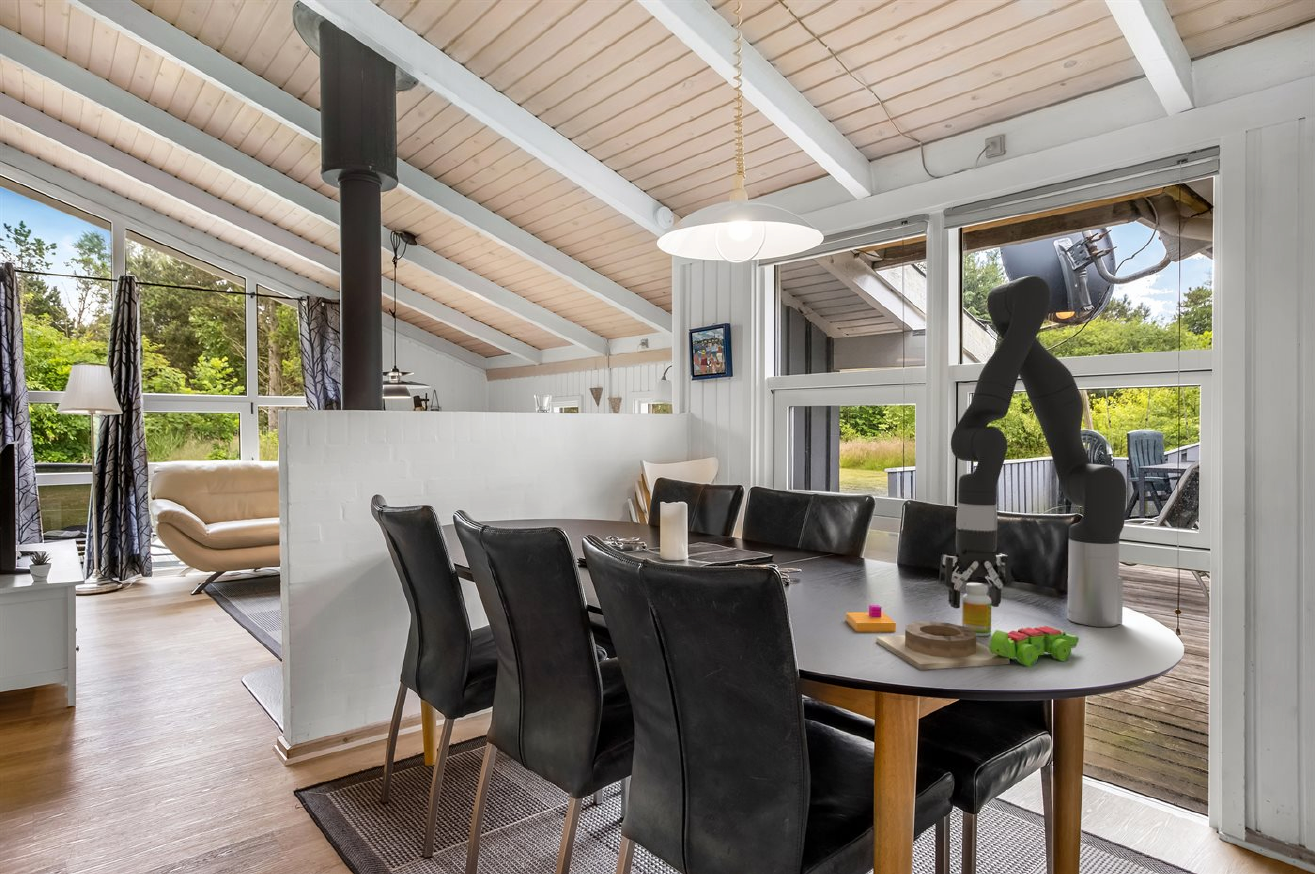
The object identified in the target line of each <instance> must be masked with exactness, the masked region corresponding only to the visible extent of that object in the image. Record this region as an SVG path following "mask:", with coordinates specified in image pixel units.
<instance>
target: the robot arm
mask: <svg viewBox="0 0 1315 874" xmlns="http://www.w3.org/2000/svg"><path fill="white" fill-rule="evenodd" d="M1052 298H1053V297H1052V291H1051V287H1050V285H1049V284H1048V282H1047V281H1046V280H1045V279H1043V278H1042V277H1041V276H1037V275H1027V276H1023V277H1019V278H1016V279H1014V280H1010V281H1008V282H1004V283H1001V284H998V285H996V286H994V287H993V288H992V289H991V290H990V291H989V292H988V296H987V300H986V302H987V303H986V304H987V305H986V307H987V311H988V315H989V317H990V319H991V321H992V324H993V325H994V328H995V329H996V331H997V333H998V334H999V337H1000V339H1001V342H1000V344H999V345H998V346H997V348H996V349H995V351H994V352H993V353H992V355H991V356H990V357H989V359H988V360H987V362H986V363H985V365H984V366H983V368H982V370H981V371H980V374H979V376H978V378H977V382H976V386H975V388H974V391H973V394H972V395H973V396H972V399H971V403H970V405H969V406H968V407H967V409H966V410H965V412H964V413H963V415H962V417H961V418H960V420H959V421H958V423H957V424H956V426H955V428H954V430H953V432H952V434H951V437H950V449H951V453H952V454H953V456H954V457H956V458H957V459H959V460H960V461H963V462H977V465H976V467H975V469H974V471H973V472H969V473H966V474H962V475H961V476H960V477H959V480H958V491H957V492H958V495H957V497H958V498H957V509H956V517H955V519H956V521H955V522H956V523H955V524H956V525H955V548H956V549H955V550H956V552H955V556H951V555H947V554H942V555H941V556H940V563H939V566H940V567H939V579H938V583H939V584H940V585H942V586H944V587H946V588H948V604H949V605H950V606H951V607H952V608H954V609H960V608H961V590H960V588H961V586H962V585H963V584H964V583H965V582H967V581H968V579H969V578H971V579H975V578H985V579H986V580H987V581H988V584H989V585H990V586H989V587H988V589H989V590H988V591H989V592H988V593H989V594H988V596H989V597H990V598H991V607H994V608H998V607H999V606H1000V604H1001V602H1002V589H1003V587H1005V586H1010V585H1011V584H1012V573H1011V572H1012V571H1011V570H1012V569H1011V568H1012V566H1011V556H1010V555H1007V554H1003V553H1001V552H1000V553H998V554H996V551H997V549H998V548H997V546H998V545H997V544H998V541H997V540H998V511H997V496H998V495H997V493H998V492H997V490H998V489H997V488H998V487H997V485H998V481H999V478H1000V475H1001V473H1002V468H1003V465H1004V463H1005V459H1006V456H1007V452H1008V441H1007V437H1006V434H1005V433H1004V432H1003V431H1002V430H1001V429H1000V428H998V427H995V426H989V425H990V423H992V422H995V421H998V420H1003V418H1005V417H1006V416H1007V415H1008V412H1009V409H1010V405H1011V402H1012V398H1013V395H1014V392H1015V389H1016V384H1017V382H1018V379H1019V377H1020V379H1021V382H1022V384H1023V387H1024V389H1025V393H1026V395H1027V398H1028V400H1029V403H1030V405H1031V408H1032V410H1033V412H1034V414H1035V415H1034V416H1035V417H1036V419H1037V421H1038V423H1039V426H1040V429H1041V431H1042V434H1043V436H1044V439H1045V442H1046V443H1047V446H1048V448H1049V452H1050V454H1051V455H1050V456H1051V458H1052V461H1053V464H1054V468H1055V472H1056V476H1057V479H1058V483H1059V485H1060V489H1061V491H1062V493H1063V495H1064V496H1065V497H1064V498H1066V500H1067V501H1069V502H1070V503H1072V504H1073V505H1077V506H1080V507H1083V511H1082V517H1081V520H1080V521H1078V522H1076V523H1073V524H1071V525H1070V526H1069V528H1068V558H1067V559H1068V560H1067V561H1068V563H1067V564H1068V567H1067V568H1068V571H1067V576H1068V577H1067V619H1068V620H1069V621H1071V622H1073V623H1076V624H1079V625H1085V626H1090V627H1099V628H1100V627H1101V628H1103V627H1104V628H1107V627H1110V628H1111V627H1115V626H1116V627H1117V626H1118V625H1119V624H1121V625H1122V624H1123V603H1124V599H1123V597H1124V579H1123V578H1122V577H1120V575H1119V574H1120V573H1119V572H1120V535H1121V534H1122V531H1123V529H1124V526H1125V520H1126V506H1127V482H1126V479H1125V477H1124V475H1123V473H1122V472H1121V471H1120V470H1119V469H1118V468H1116V467H1114V466H1112V465H1106V464H1097V463H1093V462H1092V461H1091V459H1090V458H1089V456H1088V454H1087V451H1086V448H1085V446H1084V443H1083V439H1082V424H1083V417H1084V402H1083V398H1082V395H1081V393H1080V390H1079V388H1078V385H1077V382H1076V381H1075V378H1074V375H1073V374H1072V372H1071V371H1070V370H1069V368H1067V366H1066V365H1065V364H1064V363H1062V361H1060V359H1058V358H1057V357H1056V356H1055V355H1054V354H1053V353H1052V352H1050V351H1049V350H1048V349H1047V348H1046V347H1045V346H1044V345H1043V344H1042V343H1041V342H1040V341H1039V339H1038V337H1037V336H1038V333H1039V332H1040V330H1041V328H1042V325H1043V323H1044V322H1045V320H1046V317H1047V315H1048V313H1049V311H1050V307H1051V304H1052ZM955 565H957V567H956V568H955V569H954V571H953V567H955ZM995 565H997V572H996V570H995V569H994V566H995Z"/></svg>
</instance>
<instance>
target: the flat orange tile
mask: <svg viewBox="0 0 1315 874" xmlns="http://www.w3.org/2000/svg"><path fill="white" fill-rule="evenodd" d="M845 621H846V622H847V623H848V625H849V626H851V627H852V628H853V630H854V631H855V632H896V631H897V630H896V629H897V624H896V623H897V622H895V621H894V620H893V619H892V618H891V617H890V616H888V615H887V614H886V613H885V612H882V606H880V605H879V604H869V605H868V612H866V611H865V612H863V611H861V612H859V611H858V612H857V611H856V612H854V611H853V612H850V611H849V612H848V611H847V612H846V613H845Z"/></svg>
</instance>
